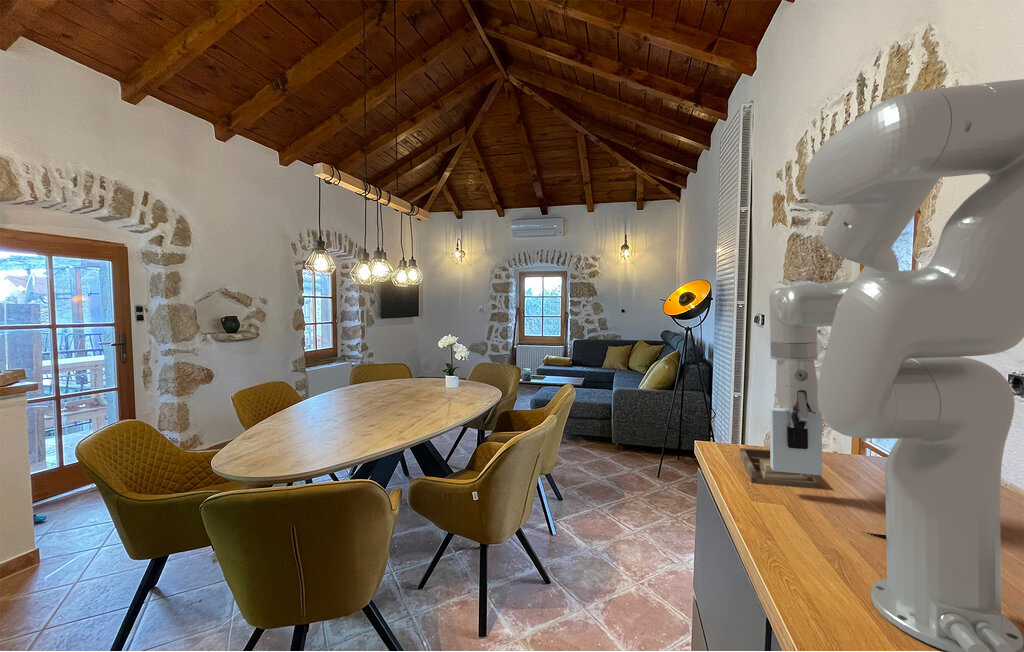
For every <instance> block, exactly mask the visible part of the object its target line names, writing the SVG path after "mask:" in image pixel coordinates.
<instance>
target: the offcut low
mask: <svg viewBox="0 0 1024 652" xmlns="http://www.w3.org/2000/svg"><path fill="white" fill-rule="evenodd" d="M761 476H762V477H764V478H776V479H788V480H800V481H803V475H802V474H801V473H800V475H788V474H766V473H765V472H764V471H763V470H762V469H761Z"/></svg>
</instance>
